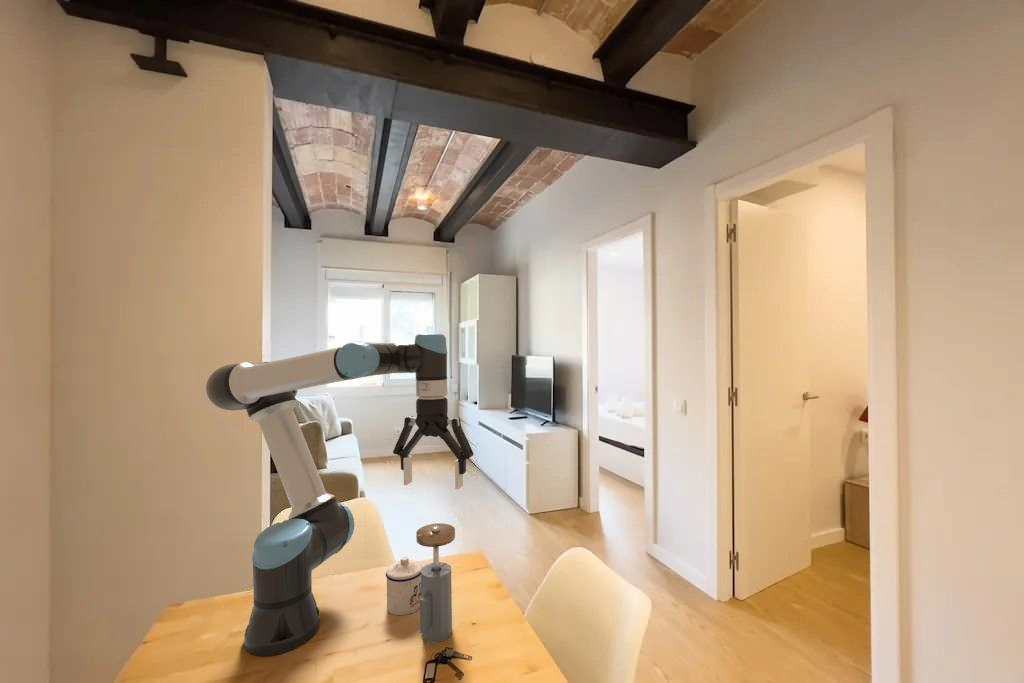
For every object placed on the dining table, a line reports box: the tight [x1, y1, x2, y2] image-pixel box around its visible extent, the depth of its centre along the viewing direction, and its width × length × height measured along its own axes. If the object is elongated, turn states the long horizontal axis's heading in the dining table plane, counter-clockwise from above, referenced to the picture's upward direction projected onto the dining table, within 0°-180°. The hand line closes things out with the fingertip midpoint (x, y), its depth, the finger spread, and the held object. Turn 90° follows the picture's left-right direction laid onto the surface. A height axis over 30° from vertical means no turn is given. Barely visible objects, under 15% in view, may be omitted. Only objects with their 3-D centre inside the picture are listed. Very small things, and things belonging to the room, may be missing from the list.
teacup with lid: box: [385, 556, 424, 616], centre depth 109 cm, size 12×9×12 cm
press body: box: [419, 561, 453, 643], centre depth 96 cm, size 7×9×14 cm
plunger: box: [415, 523, 456, 572], centre depth 97 cm, size 9×9×14 cm
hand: (433, 485), depth 104 cm, fingers open, 13 cm apart
